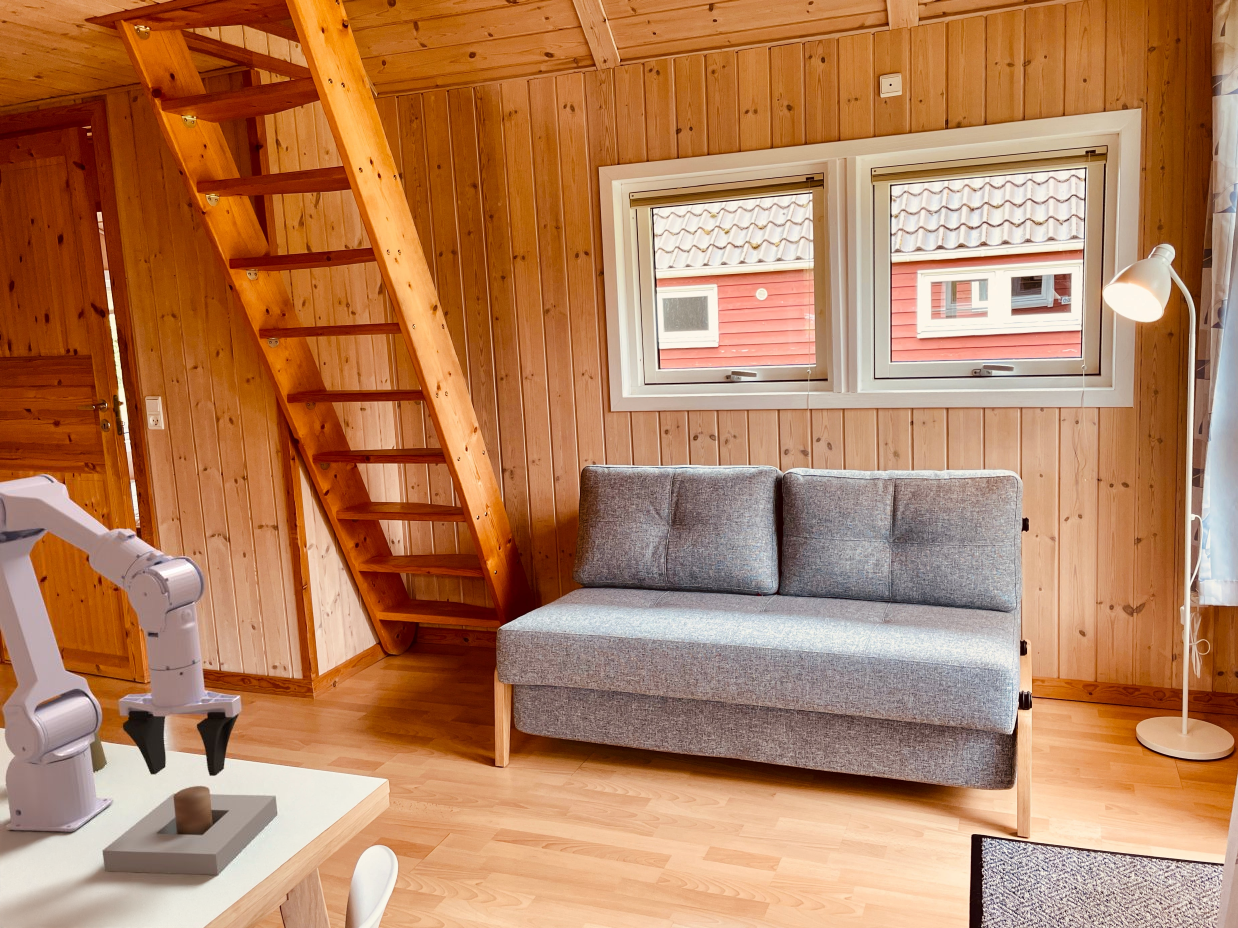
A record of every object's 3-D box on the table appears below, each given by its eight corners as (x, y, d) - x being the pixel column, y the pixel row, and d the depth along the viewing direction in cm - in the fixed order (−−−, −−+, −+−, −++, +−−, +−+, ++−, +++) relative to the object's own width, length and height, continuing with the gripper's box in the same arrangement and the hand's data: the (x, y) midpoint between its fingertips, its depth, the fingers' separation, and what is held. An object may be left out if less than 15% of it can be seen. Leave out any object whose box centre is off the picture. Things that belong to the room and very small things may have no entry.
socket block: (104, 870, 113) (102, 850, 113) (175, 811, 127) (173, 793, 127) (217, 874, 111) (215, 854, 111) (277, 814, 125) (275, 795, 125)
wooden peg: (171, 848, 118) (166, 801, 117) (189, 832, 122) (184, 785, 121) (203, 849, 117) (198, 801, 116) (220, 832, 121) (215, 786, 120)
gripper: (96, 673, 113) (110, 785, 115) (213, 674, 111) (225, 788, 113) (134, 653, 120) (147, 759, 122) (245, 653, 118) (256, 761, 120)
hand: (187, 771), depth 118 cm, fingers open, 7 cm apart
